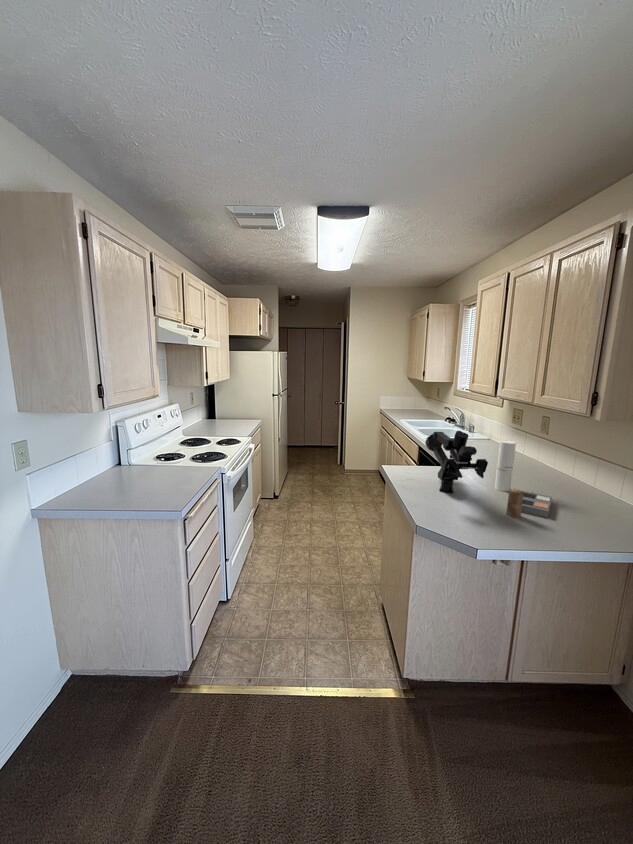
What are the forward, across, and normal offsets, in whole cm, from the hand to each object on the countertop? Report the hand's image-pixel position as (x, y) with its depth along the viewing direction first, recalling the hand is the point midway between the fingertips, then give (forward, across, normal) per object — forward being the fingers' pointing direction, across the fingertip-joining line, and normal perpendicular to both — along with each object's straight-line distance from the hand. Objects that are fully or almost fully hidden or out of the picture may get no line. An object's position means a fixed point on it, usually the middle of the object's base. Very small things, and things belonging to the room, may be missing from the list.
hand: (472, 477), depth 148 cm
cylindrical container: (-22, +30, +25) cm, 45 cm away
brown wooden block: (+8, +18, +14) cm, 24 cm away
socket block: (-2, +32, +18) cm, 37 cm away
